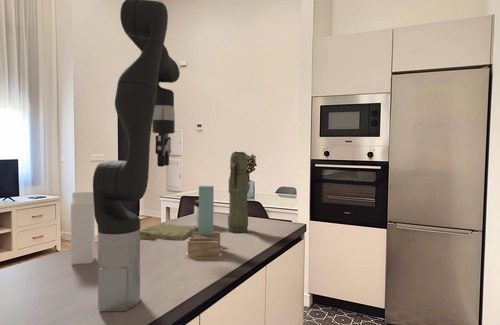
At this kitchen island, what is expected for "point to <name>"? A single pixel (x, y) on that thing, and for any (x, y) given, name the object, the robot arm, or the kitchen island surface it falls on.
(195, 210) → the jar
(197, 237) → the walnut offcut
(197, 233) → the beech rack
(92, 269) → the kitchen island surface
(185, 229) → the decorative tile
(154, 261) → the kitchen island surface
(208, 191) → the teal board
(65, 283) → the kitchen island surface
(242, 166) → the thermos
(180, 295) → the kitchen island surface
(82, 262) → the milk
